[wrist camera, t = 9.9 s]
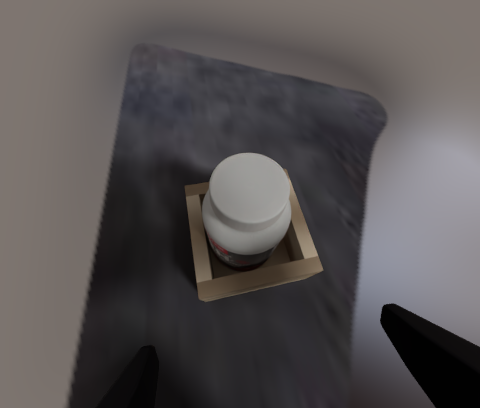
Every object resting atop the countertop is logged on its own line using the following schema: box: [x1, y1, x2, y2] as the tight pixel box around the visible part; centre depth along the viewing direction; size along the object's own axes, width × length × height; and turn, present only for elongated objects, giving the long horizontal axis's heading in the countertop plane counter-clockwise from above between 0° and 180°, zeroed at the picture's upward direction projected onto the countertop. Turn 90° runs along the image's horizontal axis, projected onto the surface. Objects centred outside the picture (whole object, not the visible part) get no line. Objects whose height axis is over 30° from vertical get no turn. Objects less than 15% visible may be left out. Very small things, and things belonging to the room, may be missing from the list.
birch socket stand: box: [185, 169, 323, 302], centre depth 18 cm, size 8×8×4 cm
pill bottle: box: [202, 153, 291, 272], centre depth 15 cm, size 5×5×10 cm
